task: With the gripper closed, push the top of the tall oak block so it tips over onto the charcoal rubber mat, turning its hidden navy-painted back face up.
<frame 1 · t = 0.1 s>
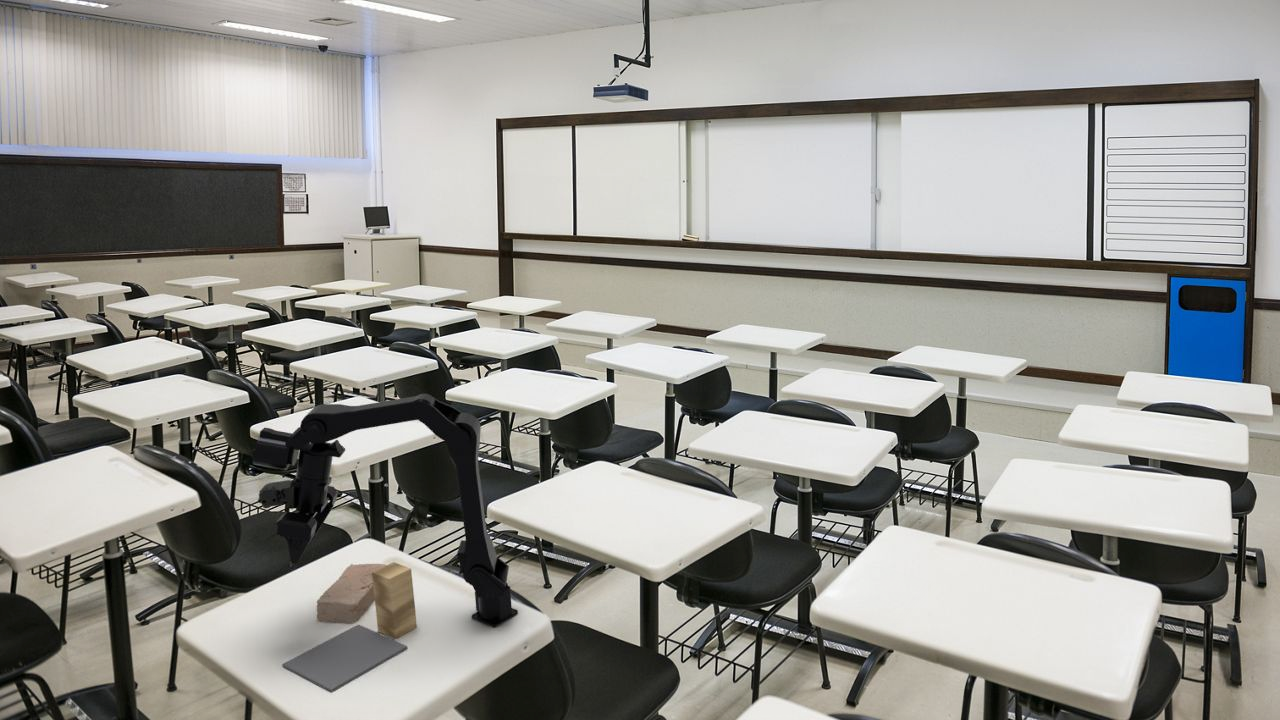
hand: (301, 552, 168), 15 cm above the table, tool pointing down, fingers open, 9 cm apart
oak block: (397, 629, 170), on the table
brick: (355, 603, 181), on the table
mat: (345, 657, 161), on the table
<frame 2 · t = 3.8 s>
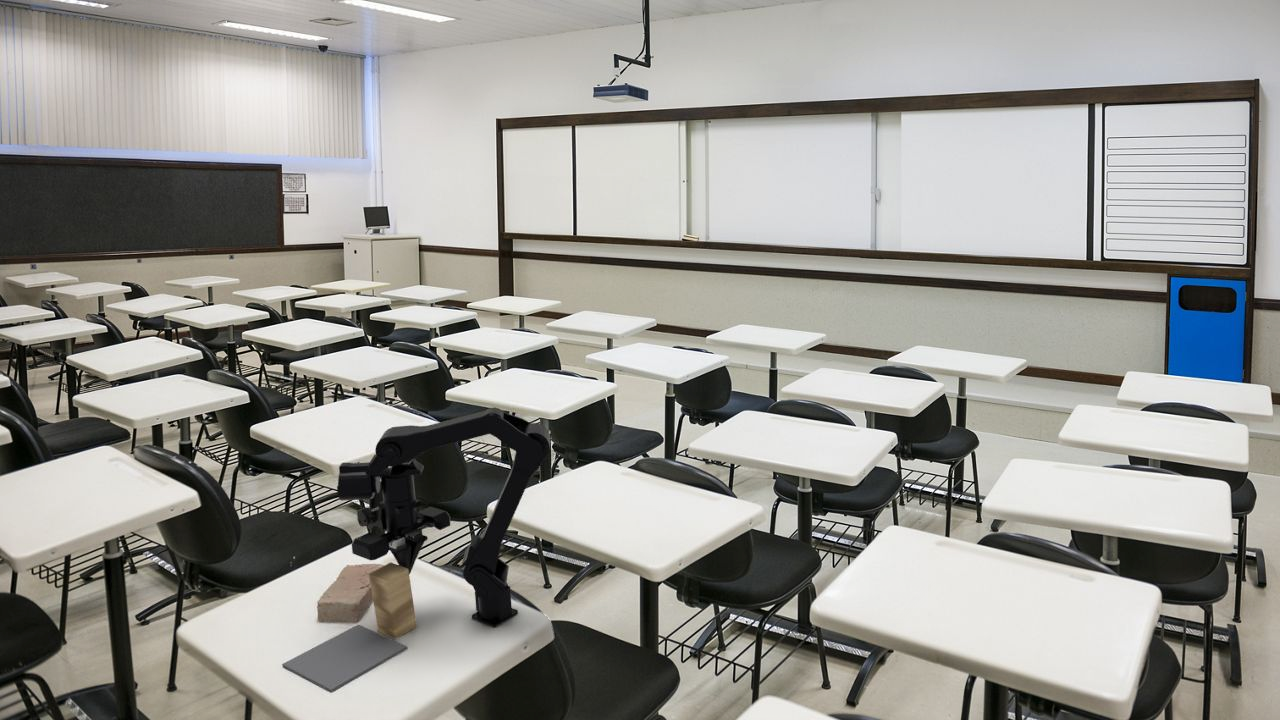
hand: (406, 574, 170), 10 cm above the table, tool pointing down, fingers closed
oak block: (397, 628, 170), on the table, touching gripper
everything else where it was.
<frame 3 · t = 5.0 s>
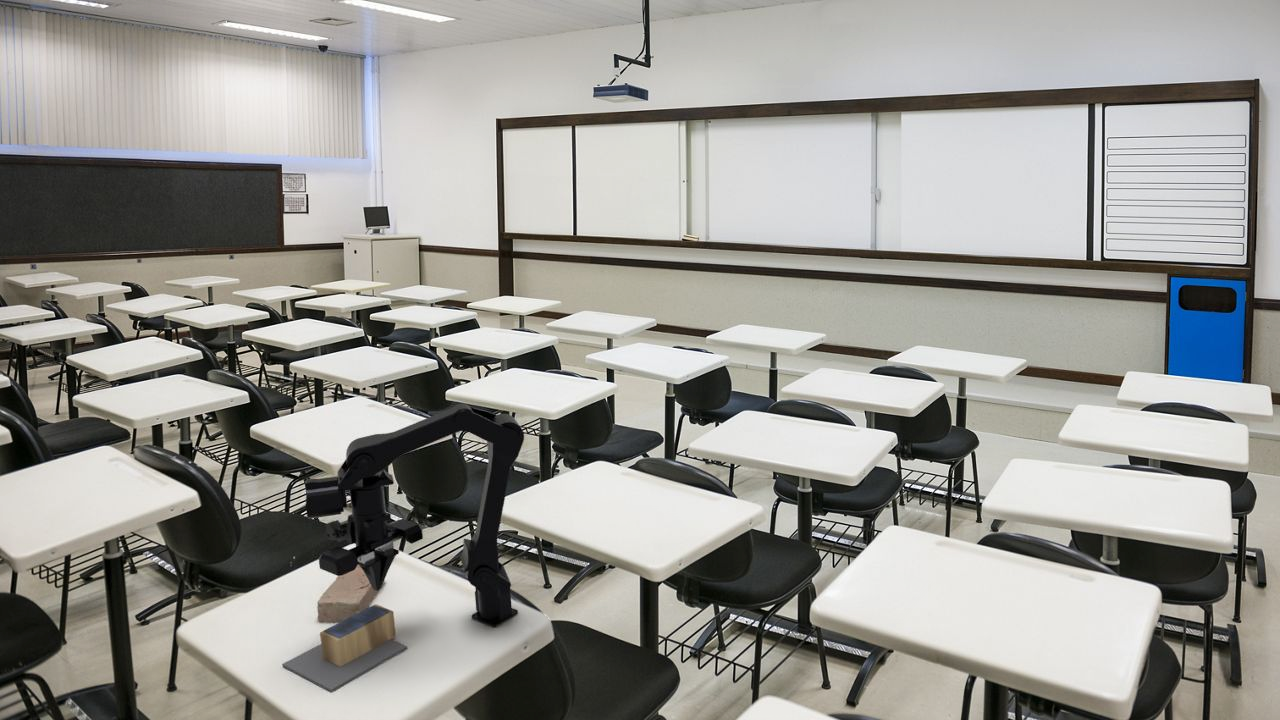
hand: (377, 589, 165), 10 cm above the table, tool pointing down, fingers closed
oak block: (385, 620, 168), point 3 cm above the table, tilted 90°, touching mat
everything else where it was.
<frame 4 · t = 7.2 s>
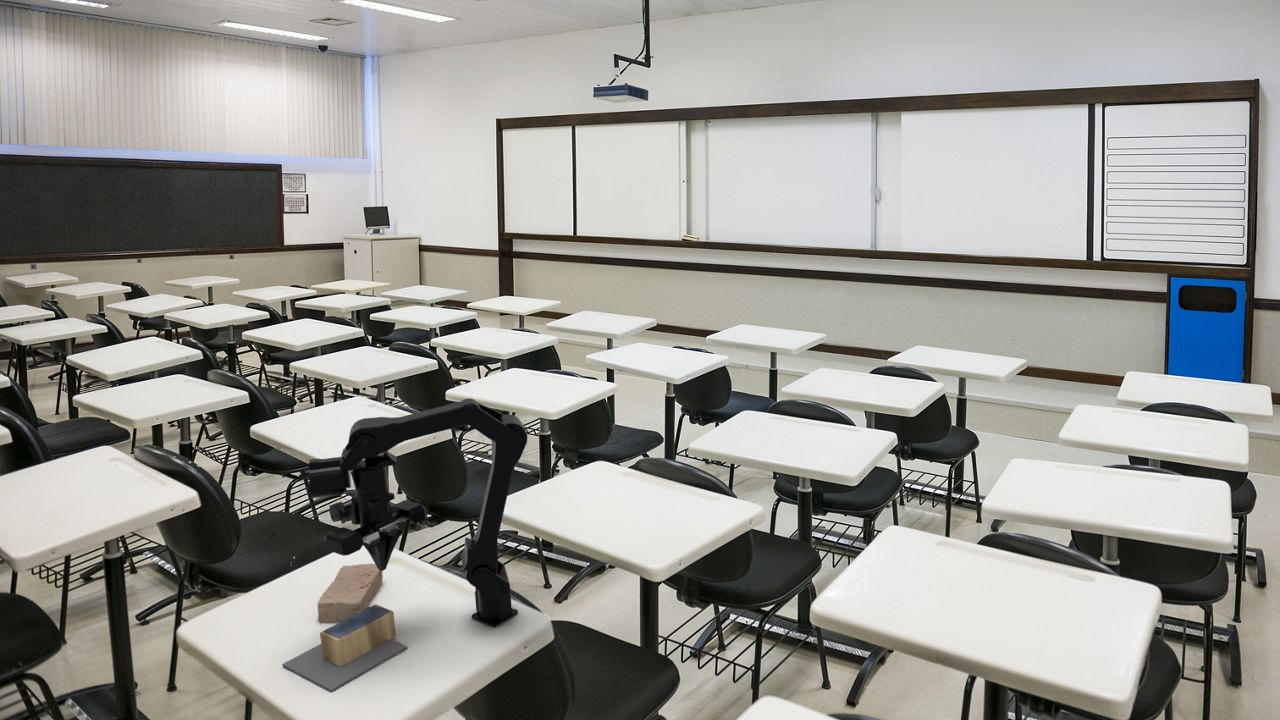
hand: (382, 569, 166), 13 cm above the table, tool pointing down, fingers closed
nothing on the table moved.
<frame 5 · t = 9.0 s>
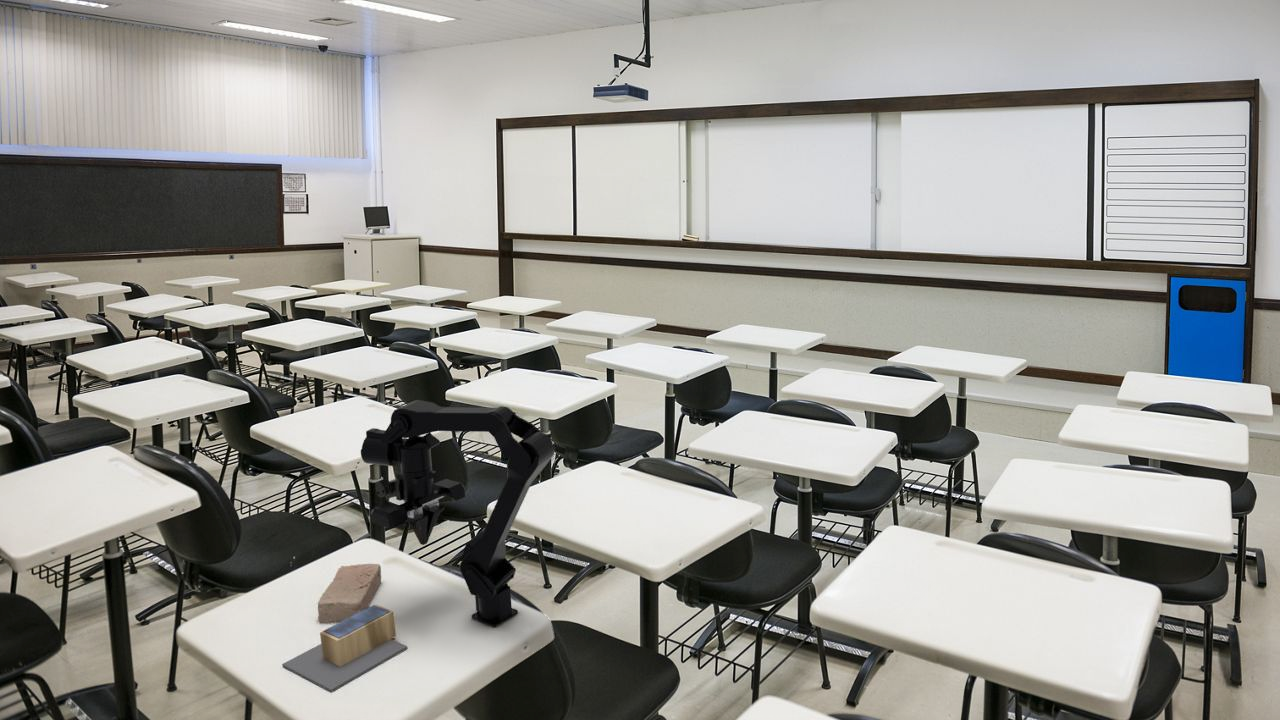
hand: (423, 543, 176), 13 cm above the table, tool pointing down, fingers closed
nothing on the table moved.
at the end: oak block tilted 90°; oak block touching mat; oak block inside the target area (1.6 cm from its centre), point 3.0 cm above the table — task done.
